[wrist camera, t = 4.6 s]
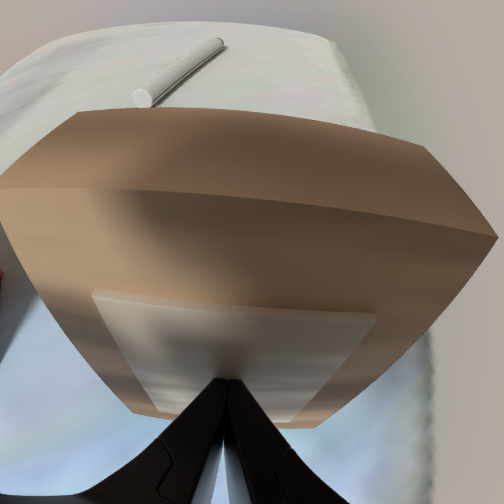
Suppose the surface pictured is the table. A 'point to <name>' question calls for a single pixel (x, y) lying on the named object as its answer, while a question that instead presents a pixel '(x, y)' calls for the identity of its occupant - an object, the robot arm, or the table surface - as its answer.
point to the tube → (174, 74)
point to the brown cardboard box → (238, 252)
